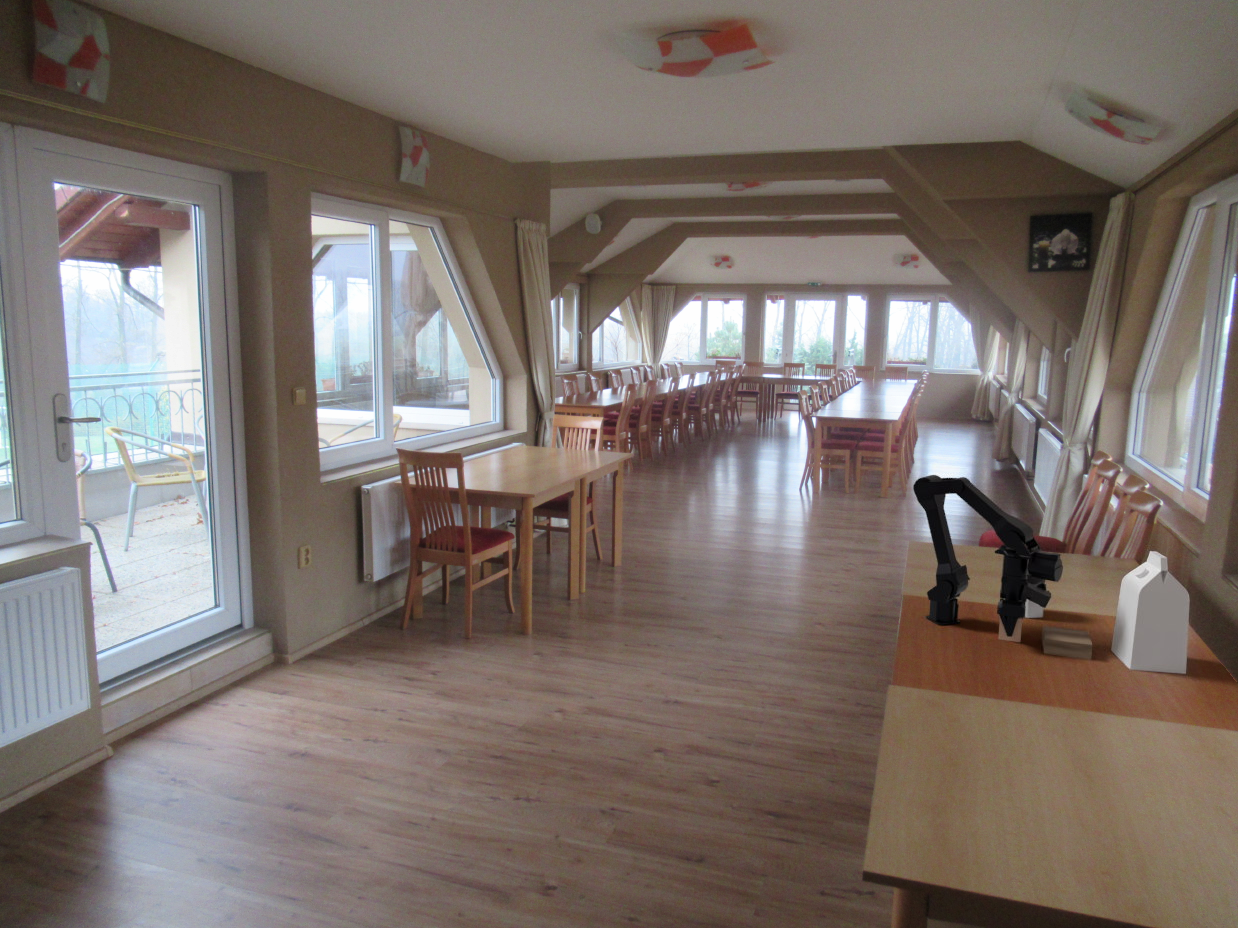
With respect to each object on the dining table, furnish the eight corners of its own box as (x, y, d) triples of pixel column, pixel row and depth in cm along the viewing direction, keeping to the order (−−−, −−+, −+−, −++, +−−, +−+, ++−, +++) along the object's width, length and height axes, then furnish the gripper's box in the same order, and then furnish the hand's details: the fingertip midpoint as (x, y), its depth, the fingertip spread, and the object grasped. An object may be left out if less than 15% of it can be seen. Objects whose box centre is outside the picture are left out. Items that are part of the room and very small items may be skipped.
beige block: (1090, 661, 200) (1092, 645, 199) (1043, 654, 204) (1045, 638, 203) (1086, 646, 209) (1088, 631, 208) (1041, 640, 213) (1042, 625, 212)
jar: (1049, 614, 232) (1053, 572, 230) (1035, 620, 227) (1039, 577, 225) (1017, 606, 239) (1020, 565, 237) (1002, 612, 233) (1006, 570, 232)
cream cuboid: (1021, 642, 211) (1022, 619, 210) (997, 639, 213) (999, 616, 212) (1021, 635, 215) (1023, 613, 215) (998, 632, 218) (1000, 610, 217)
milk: (1185, 673, 192) (1198, 562, 188) (1130, 669, 194) (1141, 559, 190) (1163, 653, 204) (1174, 549, 200) (1111, 650, 206) (1121, 546, 202)
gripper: (1050, 587, 200) (1045, 650, 202) (1050, 568, 216) (1045, 626, 219) (999, 581, 205) (994, 642, 207) (1002, 562, 221) (998, 619, 224)
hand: (1009, 632), depth 214 cm, fingers closed on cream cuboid, 5 cm apart
